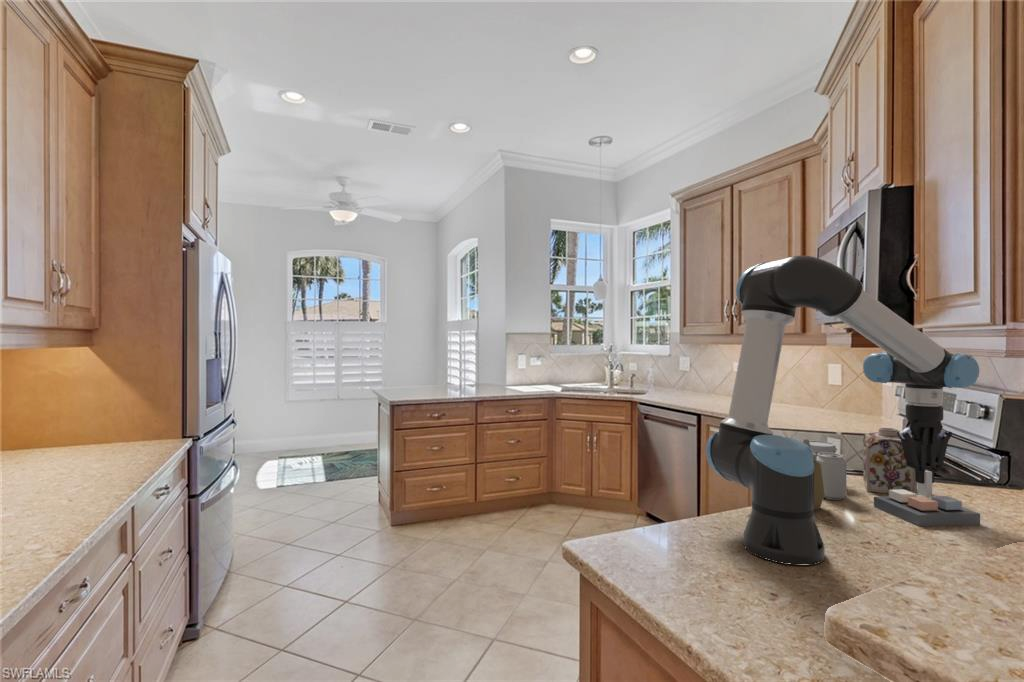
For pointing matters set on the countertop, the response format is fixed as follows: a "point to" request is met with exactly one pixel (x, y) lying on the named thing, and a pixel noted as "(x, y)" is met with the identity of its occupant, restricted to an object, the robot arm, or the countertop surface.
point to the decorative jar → (886, 463)
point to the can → (833, 475)
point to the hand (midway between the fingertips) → (924, 495)
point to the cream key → (901, 495)
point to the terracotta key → (923, 504)
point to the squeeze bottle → (817, 480)
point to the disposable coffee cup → (822, 447)
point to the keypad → (927, 514)
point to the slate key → (947, 503)
